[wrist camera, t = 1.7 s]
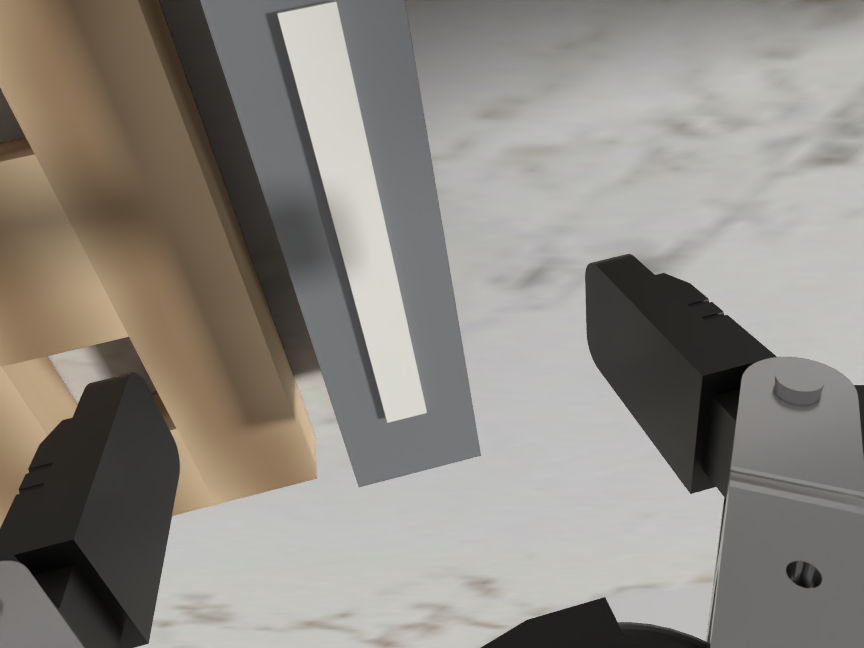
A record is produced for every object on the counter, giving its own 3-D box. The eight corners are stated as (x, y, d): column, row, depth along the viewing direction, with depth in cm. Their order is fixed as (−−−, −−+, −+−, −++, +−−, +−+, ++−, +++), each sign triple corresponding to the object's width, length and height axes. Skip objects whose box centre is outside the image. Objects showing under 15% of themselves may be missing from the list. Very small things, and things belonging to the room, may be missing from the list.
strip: (349, -134, 17) (378, -167, 11) (440, 345, 26) (483, 460, 20) (202, -106, 17) (156, -126, 11) (344, 369, 25) (359, 493, 20)
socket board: (72, -241, 15) (37, -269, 13) (314, 436, 27) (316, 478, 25) (-471, -148, 14) (-602, -162, 12) (28, 508, 26) (5, 558, 24)
